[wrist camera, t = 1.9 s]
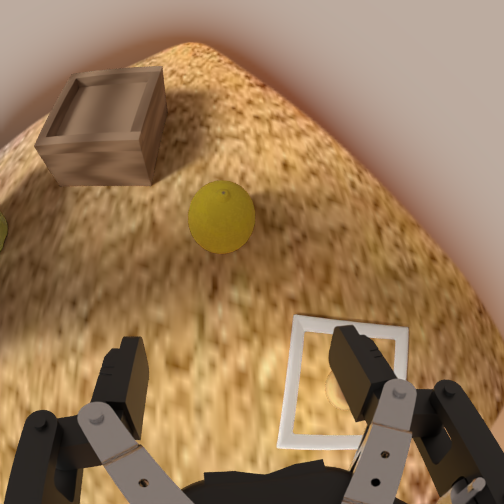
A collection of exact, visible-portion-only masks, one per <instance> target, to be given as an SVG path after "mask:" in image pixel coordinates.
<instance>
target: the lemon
mask: <svg viewBox="0 0 504 504" xmlns="http://www.w3.org/2000/svg"><path fill="white" fill-rule="evenodd" d="M188 225H189V228H190V232H191V234H192V236H193V238H194V239H195V241H196V242H197V243H198V244H199V245H200V246H201V247H202V248H203V249H205V250H207V251H209V252H212V253H216V254H226V253H230V252H233V251H235V250H237V249H239V248H240V247H242V246H243V245H244V244H245V243H246V242H247V240H248V239H249V237H250V236H251V234H252V231H253V228H254V225H255V209H254V206H253V202H252V199H251V198H250V196H249V194H248V193H247V192H246V191H245V190H244V189H243V188H242V187H241V186H239V185H238V184H236V183H233V182H230V181H224V180H220V181H214V182H211V183H208V184H206V185H205V186H203V187H202V188H201V189H200V190H199V191H198V192H197V193H196V194H195V196H194V198H193V199H192V201H191V204H190V208H189V212H188Z"/></svg>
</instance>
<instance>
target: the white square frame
mask: <svg viewBox="0 0 504 504" xmlns="http://www.w3.org/2000/svg"><path fill="white" fill-rule="evenodd" d="M343 325H354V327H355V328H356V330H357V331H358V333H359V334H360V335H363V334H364V335H366V336H367V337H369V338H382V339H394V340H395V341H396V344H395V361H394V373H395V375H396V376H397V378H398V379H403V380H406V377H407V362H408V340H409V328H408V327H401V326H391V325H381V324H371V323H362V322H353V321H344V320H335V319H327V318H319V317H311V316H304V315H296V314H295V315H294V316H293V324H292V333H291V342H290V351H289V360H288V368H287V376H286V384H285V391H284V399H283V406H282V414H281V421H280V428H279V434H278V441H277V448H280V449H302V450H349V449H358V446H359V444H360V441H361V439H362V436H363V435H303V434H293V425H294V418H295V411H296V403H297V395H298V387H299V379H300V370H301V361H302V352H303V342H304V333H305V332H306V331H309V332H318V333H327V334H333V331H334V328H335V327H336V326H343ZM325 392H326V396H327V399H328V400H329V402H330V403H331V404H332V405H333V406H334V407H336V408H338V409H340V410H350V408H349V406H348V404H347V402H346V400H345V397H344V395H343V393H342V391H341V389H340V387H339V384H338V382H337V380H336V378H335V376H334V374H333V372H332V371H331V372H330V374H329V375H328V377H327V380H326V384H325Z"/></svg>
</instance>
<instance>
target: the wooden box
mask: <svg viewBox="0 0 504 504" xmlns="http://www.w3.org/2000/svg"><path fill="white" fill-rule="evenodd" d="M167 113H168V112H167V104H166V95H165V87H164V77H163V68H162V66H152V67H133V68H120V69H109V70H100V71H91V72H83V73H76V74H72V75H71V77H70V78H69V80H68V82H67V83H66V85H65V87H64V88H63V90H62V92H61V94H60V96H59V97H58V99H57V101H56V103H55V105H54V106H53V108H52V110H51V112H50V114H49V116H48V118H47V120H46V122H45V124H44V126H43V128H42V130H41V132H40V134H39V137H38V139H37V141H36V143H35V145H34V147H35V148H36V150H37V152H38V153H39V155H40V156H41V158H42V160H43V161H44V163H45V164H46V166H47V167H48V169H49V171H50V172H51V174H52V175H53V177H54V178H55V180H56V181H57V183H58V184H59V186H151V184H152V179H153V174H154V169H155V164H156V160H157V155H158V150H159V146H160V142H161V137H162V133H163V129H164V125H165V121H166V117H167Z"/></svg>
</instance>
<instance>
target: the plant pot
mask: <svg viewBox="0 0 504 504" xmlns="http://www.w3.org/2000/svg"><path fill="white" fill-rule="evenodd" d="M7 233H8V225H7V221H6V219H5V218H4V216H3V215H2V213H1V212H0V251H1V249H2V248H3V244H4V240H5V238H6V236H7Z"/></svg>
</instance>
